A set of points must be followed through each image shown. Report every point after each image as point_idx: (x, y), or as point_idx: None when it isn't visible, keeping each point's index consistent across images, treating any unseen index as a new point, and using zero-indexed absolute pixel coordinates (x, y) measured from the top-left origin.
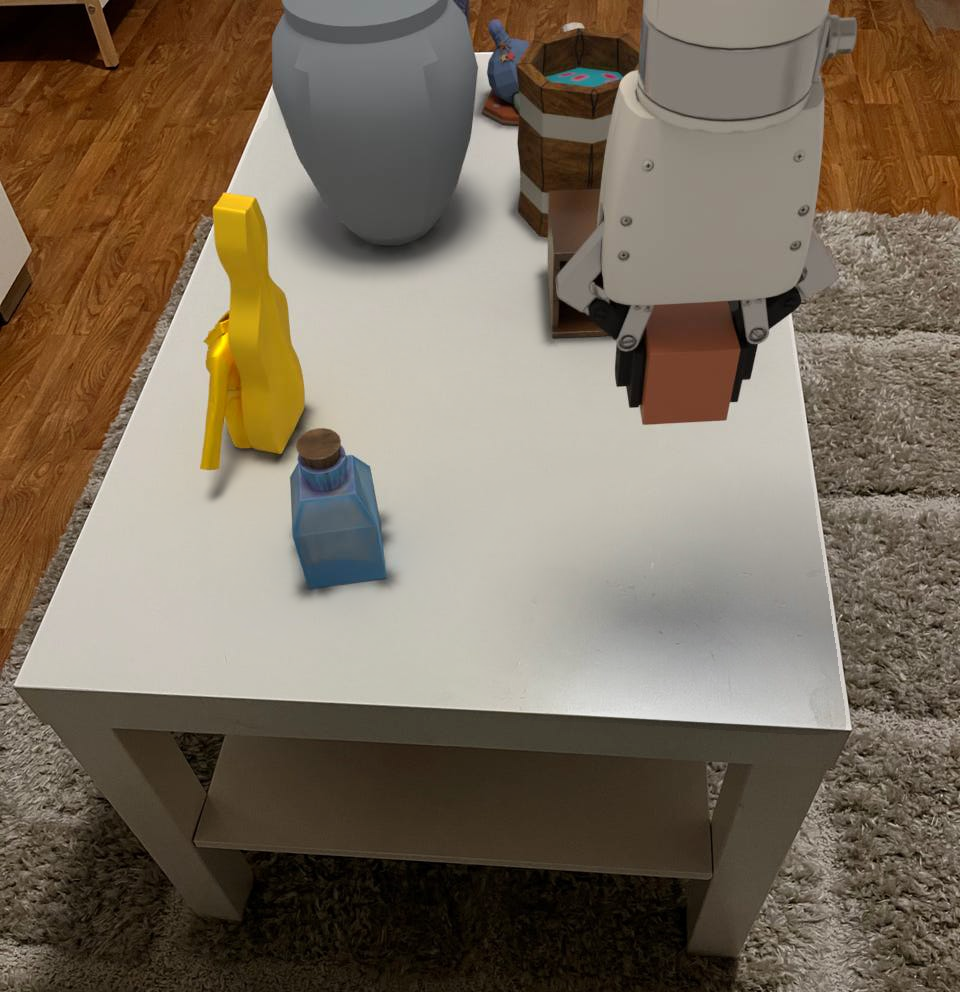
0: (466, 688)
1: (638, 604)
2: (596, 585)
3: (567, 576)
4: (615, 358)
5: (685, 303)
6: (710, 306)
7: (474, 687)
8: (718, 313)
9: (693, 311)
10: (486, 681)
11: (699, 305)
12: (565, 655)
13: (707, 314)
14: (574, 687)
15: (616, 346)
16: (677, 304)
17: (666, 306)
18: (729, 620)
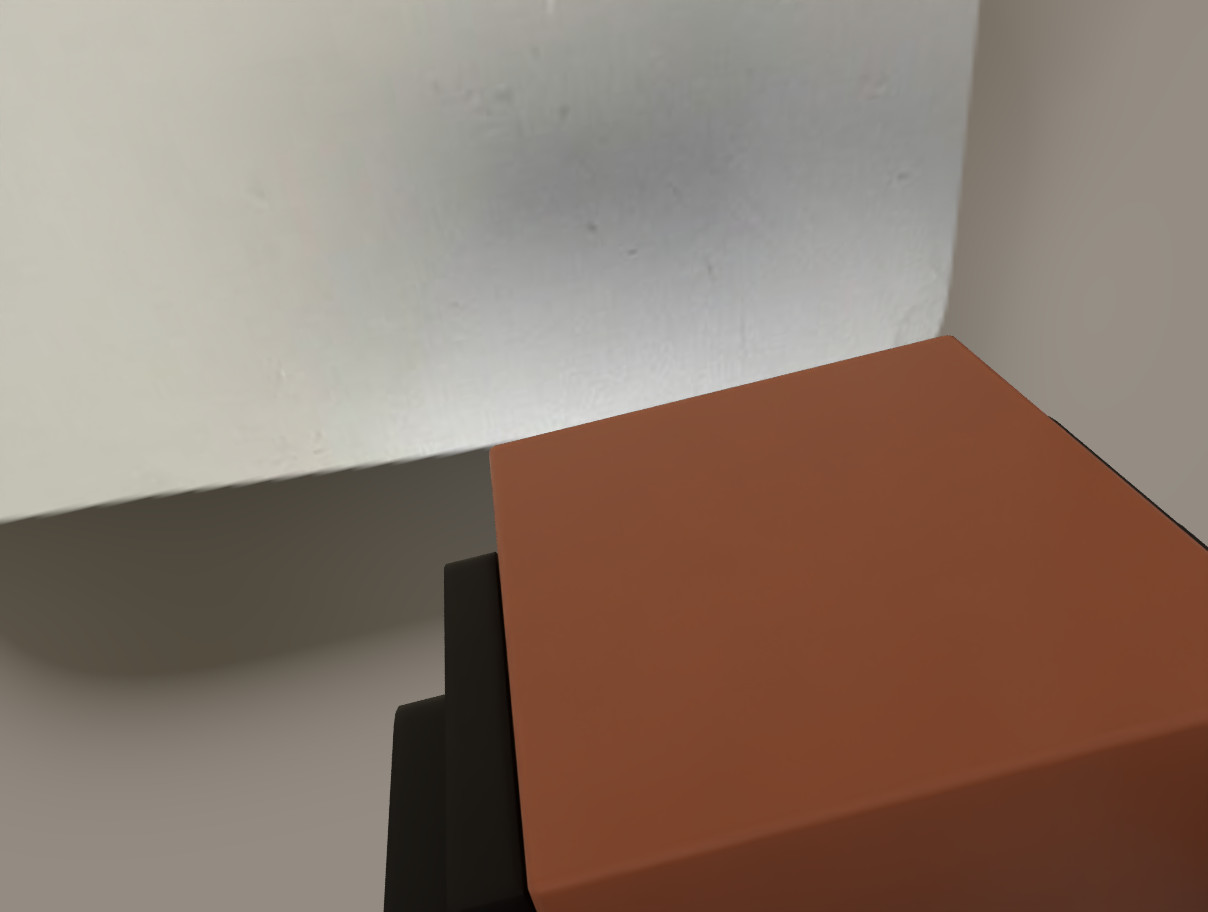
0: (188, 456)
1: (530, 151)
2: (410, 105)
3: (322, 86)
4: (392, 767)
5: (960, 858)
6: (1166, 829)
7: (205, 450)
8: (1204, 882)
9: (1010, 910)
10: (226, 431)
11: (1076, 839)
12: (383, 333)
13: (1114, 909)
14: (422, 405)
15: (389, 851)
16: (886, 880)
17: (784, 910)
18: (751, 161)
